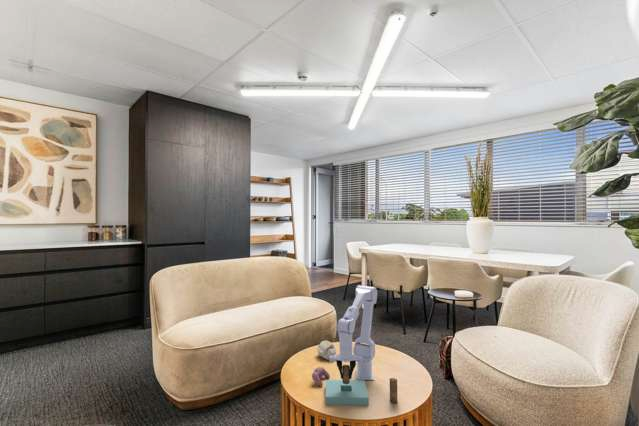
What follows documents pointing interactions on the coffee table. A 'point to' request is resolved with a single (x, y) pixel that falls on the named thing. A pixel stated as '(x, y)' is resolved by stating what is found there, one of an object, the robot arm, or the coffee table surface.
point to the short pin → (346, 374)
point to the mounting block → (346, 392)
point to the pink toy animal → (319, 375)
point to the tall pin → (393, 390)
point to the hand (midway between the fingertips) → (346, 377)
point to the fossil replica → (326, 349)
